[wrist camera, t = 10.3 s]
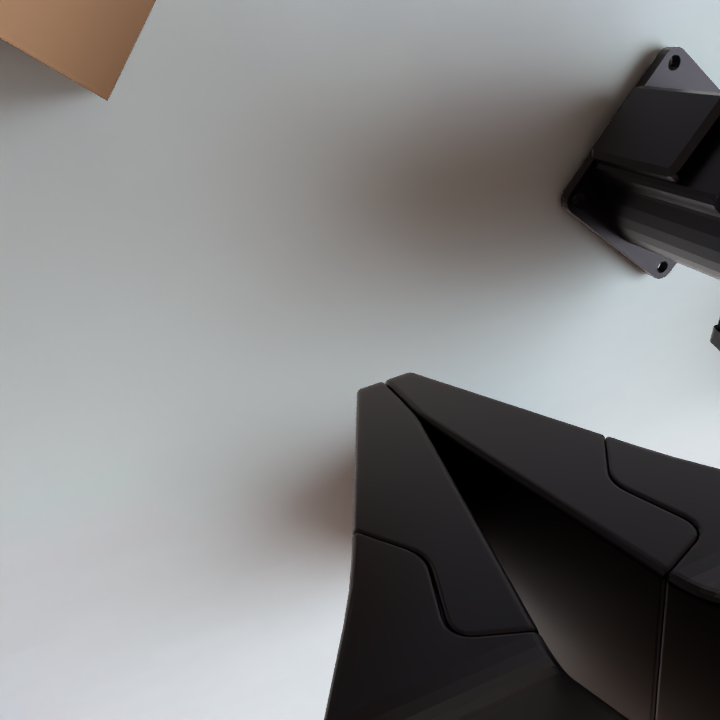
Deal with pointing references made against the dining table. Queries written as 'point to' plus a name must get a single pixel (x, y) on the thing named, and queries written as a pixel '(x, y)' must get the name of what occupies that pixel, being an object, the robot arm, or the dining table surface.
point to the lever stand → (77, 36)
